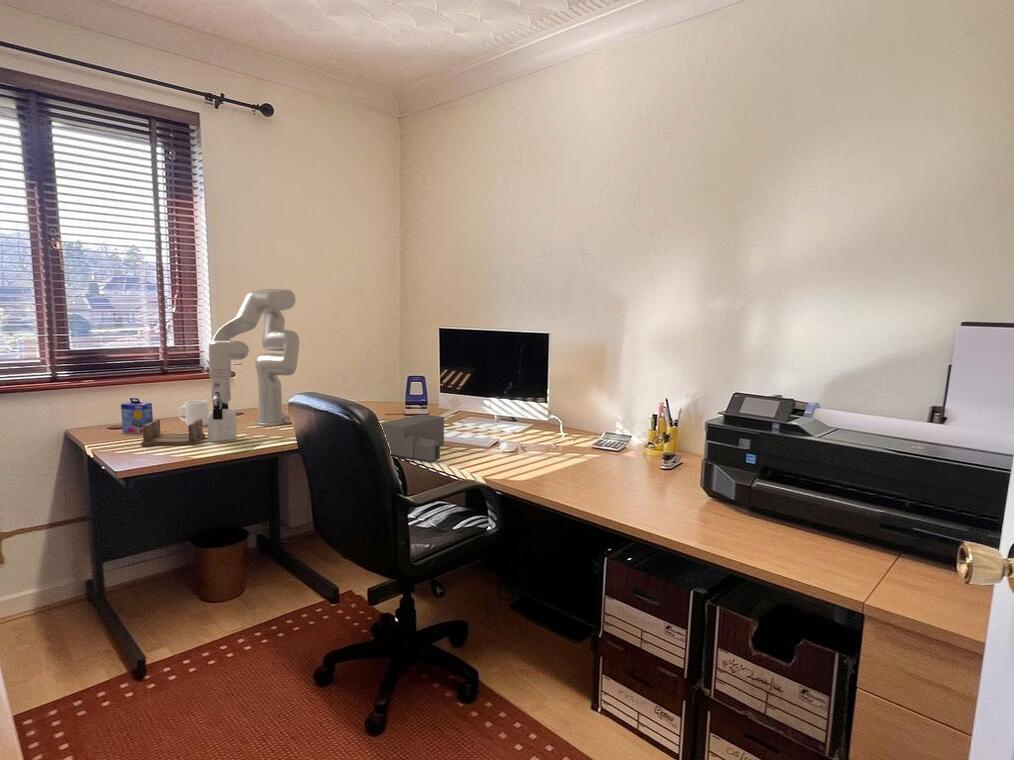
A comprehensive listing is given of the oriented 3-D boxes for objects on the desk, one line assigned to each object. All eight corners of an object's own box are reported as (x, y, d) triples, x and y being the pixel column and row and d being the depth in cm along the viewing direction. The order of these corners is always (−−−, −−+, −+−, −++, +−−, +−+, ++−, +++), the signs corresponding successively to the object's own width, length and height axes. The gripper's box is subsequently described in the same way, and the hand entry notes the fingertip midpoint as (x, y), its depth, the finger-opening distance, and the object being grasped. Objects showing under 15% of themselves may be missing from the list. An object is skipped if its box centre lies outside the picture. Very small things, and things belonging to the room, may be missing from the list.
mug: (183, 423, 254) (182, 399, 253) (211, 424, 255) (211, 400, 254) (174, 427, 245) (173, 402, 244) (203, 427, 246) (202, 403, 245)
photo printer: (234, 437, 229) (233, 407, 228) (238, 439, 226) (237, 408, 225) (206, 441, 222) (205, 409, 221) (210, 443, 219) (209, 411, 218)
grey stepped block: (430, 461, 202) (431, 431, 201) (380, 452, 213) (380, 423, 212) (469, 448, 223) (470, 420, 222) (421, 440, 235) (422, 414, 234)
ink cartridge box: (121, 433, 232) (119, 398, 230) (131, 430, 237) (129, 396, 235) (145, 434, 231) (143, 398, 229) (154, 431, 237) (152, 396, 235)
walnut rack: (154, 438, 225) (154, 419, 224) (205, 436, 229) (204, 418, 228) (141, 446, 211) (140, 426, 210) (194, 444, 216) (194, 425, 215)
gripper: (225, 375, 214) (226, 421, 215) (235, 371, 230) (236, 413, 232) (203, 375, 212) (204, 421, 213) (215, 371, 229) (216, 414, 230)
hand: (220, 417), depth 223 cm, fingers open, 9 cm apart
